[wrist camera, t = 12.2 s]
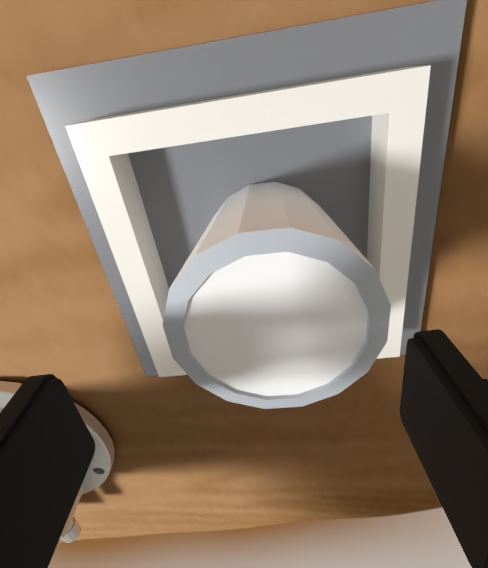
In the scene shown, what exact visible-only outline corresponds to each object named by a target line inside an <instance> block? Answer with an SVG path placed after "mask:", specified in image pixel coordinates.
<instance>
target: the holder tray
mask: <svg viewBox="0 0 488 568" xmlns="http://www.w3.org/2000/svg"><path fill="white" fill-rule="evenodd" d="M466 4H467V0H438V1H432V2H427V3H421V4H416V5H410V6H405V7H399V8H394V9H388V10H383V11H378V12H372V13H367V14H361V15H356V16H350V17H345V18H339V19H334V20H329V21H323V22H318V23H312V24H307V25H301V26H296V27H290V28H285V29H280V30H274V31H269V32H263V33H258V34H252V35H247V36H241V37H236V38H231V39H225V40H220V41H214V42H209V43H203V44H198V45H192V46H187V47H182V48H176V49H171V50H165V51H160V52H154V53H149V54H143V55H138V56H132V57H127V58H122V59H116V60H111V61H105V62H100V63H94V64H89V65H83V66H78V67H73V68H67V69H62V70H56V71H51V72H45V73H40V74H34V75H29V76H27V79H28V81H29V84H30V86H31V89H32V91H33V94H34V96H35V99H36V101H37V104H38V106H39V109H40V111H41V114H42V116H43V119H44V121H45V124H46V126H47V129H48V131H49V134H50V136H51V139H52V141H53V144H54V146H55V149H56V151H57V154H58V156H59V159H60V161H61V164H62V166H63V169H64V171H65V174H66V176H67V179H68V181H69V184H70V186H71V189H72V191H73V194H74V196H75V199H76V201H77V204H78V206H79V209H80V211H81V214H82V216H83V219H84V221H85V224H86V226H87V229H88V231H89V234H90V236H91V239H92V241H93V244H94V246H95V249H96V251H97V254H98V256H99V259H100V261H101V264H102V266H103V269H104V271H105V274H106V276H107V279H108V281H109V284H110V286H111V289H112V291H113V294H114V296H115V299H116V301H117V304H118V306H119V309H120V311H121V314H122V316H123V319H124V321H125V324H126V326H127V329H128V331H129V334H130V336H131V339H132V341H133V344H134V346H135V349H136V351H137V354H138V356H139V359H140V361H141V364H142V366H143V369H144V371H145V374H146V376H159V377H168V376H180V375H187V374H186V372H185V371H184V370H183V369H182V368H181V367H180V366H179V365H178V363H177V362H176V361H175V360H174V359H173V358H172V354H171V351H170V348H169V345H168V342H167V338H166V335H165V332H164V329H163V326H162V324H163V319H164V313H165V308H166V302H167V297H168V292H169V288H170V287H171V285H172V283H173V282H174V280H175V278H176V277H177V275H178V274H179V272H180V270H181V269H182V267H183V265H184V264H185V262H186V261H187V259H188V257H189V256H190V254H191V253H192V251H193V249H194V248H195V246H196V244H197V243H198V241H199V240H200V238H201V236H202V235H203V233H204V231H205V230H206V228H207V227H208V225H209V223H210V222H211V220H212V218H213V217H214V215H215V214H216V213H217V211H218V210H219V209H220V207H221V206H222V205H223V203H224V202H225V201H226V199H227V198H228V197H229V196H231V195H233V194H234V193H236V192H238V191H240V190H241V189H243V188H245V187H247V186H248V185H251V184H259V183H267V182H279V183H282V184H286V185H289V186H293V187H296V188H300V189H301V190H302V191H303V192H304V193H306V194H307V195H308V196H309V197H310V198H312V199H313V200H314V201H315V202H316V203H318V204H319V206H320V207H321V208H322V209H323V210H324V211H325V212H326V214H327V215H328V216H329V217H330V218H331V219H332V220H333V222H334V223H335V224H336V225H337V226H338V227H339V228H340V230H341V231H342V232H343V233H344V234H345V235H346V236H347V238H348V239H349V240H350V241H351V242H352V243H353V244H354V246H355V247H356V248H357V249H358V250H359V251H360V252H361V254H362V255H363V256H364V257H365V258H366V259H367V260H368V262H369V263H370V264H371V265H372V266H373V267H374V268H375V270H376V272H377V275H378V277H379V279H380V281H381V284H382V286H383V288H384V291H385V293H386V295H387V297H388V300H389V302H390V304H391V310H390V319H389V329H388V339H387V343H386V344H385V346H384V347H383V349H382V351H381V352H380V354H379V355H378V357H377V358H376V359H379V358H391V357H400V355H402V354H406V346H407V340H408V339H410V338H413V336H414V334H415V332H420V331H421V324H422V317H423V309H424V302H425V295H426V288H427V281H428V274H429V267H430V260H431V253H432V246H433V238H434V231H435V224H436V217H437V210H438V203H439V196H440V189H441V182H442V175H443V167H444V160H445V153H446V146H447V139H448V132H449V125H450V118H451V111H452V104H453V96H454V89H455V82H456V75H457V68H458V61H459V54H460V47H461V40H462V32H463V25H464V18H465V11H466Z"/></svg>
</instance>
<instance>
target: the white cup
mask: <svg viewBox="0 0 488 568" xmlns="http://www.w3.org/2000/svg"><path fill="white" fill-rule="evenodd" d="M390 310H391V304H390V302H389V300H388V297H387V295H386V293H385V291H384V288H383V286H382V284H381V281H380V279H379V277H378V275H377V272H376V270H375V268H374V267H373V266H372V265H371V264H370V263H369V262H368V260H367V259H366V258H365V257H364V256H363V255H362V254H361V252H360V251H359V250H358V249H357V248H356V247H355V246H354V244H353V243H352V242H351V241H350V240H349V239H348V238H347V236H346V235H345V234H344V233H343V232H342V231H341V230H340V228H339V227H338V226H337V225H336V224H335V223H334V222H333V220H332V219H331V218H330V217H329V216H328V215H327V214H326V212H325V211H324V210H323V209H322V208H321V207H320V206H319V204H318V203H316V202H315V201H314V200H313V199H312V198H310V197H309V196H308V195H307V194H306V193H304V192H303V191H302V190H301V189H300V188H296V187H293V186H289V185H286V184H282V183H279V182H267V183H259V184H251V185H248V186H247V187H245V188H243V189H241V190H240V191H238V192H236V193H234V194H233V195H231V196H229V197H228V198H227V199H226V201H225V202H224V203H223V205H222V206H221V207H220V209H219V210H218V211H217V213H216V214H215V215H214V217H213V218H212V220H211V222H210V223H209V225H208V227H207V228H206V230H205V231H204V233H203V235H202V236H201V238H200V240H199V241H198V243H197V244H196V246H195V248H194V249H193V251H192V253H191V254H190V256H189V257H188V259H187V261H186V262H185V264H184V265H183V267H182V269H181V270H180V272H179V274H178V275H177V277H176V278H175V280H174V282H173V283H172V285H171V287H170V288H169V292H168V297H167V302H166V308H165V313H164V319H163V324H162V326H163V329H164V332H165V335H166V338H167V342H168V345H169V348H170V351H171V354H172V358H173V359H174V360H175V361H176V362H177V363H178V365H179V366H180V367H181V368H182V369H183V370H184V371H185V372H186V374H187V375H188V376H189V377H190V378H191V379H192V380H193V381H194V383H195V384H197V385H199V386H200V387H202V388H204V389H206V390H208V391H210V392H211V393H213V394H215V395H217V396H219V397H221V398H222V399H224V400H226V401H229V402H233V403H238V404H243V405H248V406H253V407H257V408H262V409H271V408H287V407H302V406H305V405H308V404H311V403H314V402H317V401H320V400H323V399H326V398H328V397H331V396H334V395H337V394H339V393H340V392H342V391H343V390H344V389H346V388H347V387H348V386H350V385H351V384H352V383H354V382H355V381H357V380H358V379H359V378H361V377H362V376H363V375H365V374H366V373H367V372H368V371H369V370H370V368H371V366H372V365H373V363H374V362H375V360H376V358H377V357H378V355H379V354H380V352H381V351H382V349H383V347H384V346H385V344H386V343H387V339H388V329H389V319H390Z"/></svg>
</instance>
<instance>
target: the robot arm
mask: <svg viewBox="0 0 488 568" xmlns="http://www.w3.org/2000/svg"><path fill="white" fill-rule="evenodd" d="M400 416H401V420H402V423H403V425H404V427H405V429H406V432H407V434H408V436H409V438H410V440H411V442H412V444H413V446H414V448H415V450H416V452H417V454H418V457H419V459H420V461H421V463H422V465H423V467H424V469H425V471H426V473H427V475H428V477H429V480H430V482H431V484H432V486H433V488H434V490H435V492H436V494H437V496H438V498H439V500H440V502H441V505H442V507H443V509H444V511H445V513H446V515H447V517H448V519H449V521H450V523H451V525H452V528H453V530H454V532H455V534H456V536H457V538H458V540H459V542H460V544H461V546H462V548H463V551H464V553H465V555H466V557H467V559H468V561H469V563H470V565H471V566H472V568H488V380H487V379H482V378H481V377H480V376H479V374H478V373H477V372H476V371H475V370H474V368H473V367H472V366H471V365H470V364H469V362H468V361H467V360H466V359H465V357H464V356H463V355H462V354H461V353H460V351H459V350H458V349H457V348H456V347H455V345H454V344H453V343H452V342H451V341H450V339H449V338H448V337H447V336H446V335H445V333H444V332H443V331H441V330H439V329H438V330H429V331H420V332H415V334H414V336H413V338H410V339H408V340H407V346H406V356H405V366H404V376H403V385H402V395H401V405H400ZM114 455H115V450H114V445H113V441H112V439H111V437H110V436H109V434H108V432H107V430H106V429H105V428H104V427H103V425H102V424H101V423H100V422H99V421H98V419H96V418H95V417H94V416H93V415H92V414H91V413H89V412H88V411H87V410H86V409H84V408H83V407H81V406H80V405H78V404H76V403H75V402H73V400H72V399H71V397H70V395H69V393H68V391H67V389H66V388H65V386H64V384H63V382H62V381H61V380H60V379H57V378H56V377H55V376H54V375H52V374H47V375H38V376H30V377H28V378H27V379H26V380H25V381H24V382H23V383H18V382H7V381H0V568H47V567H48V565H49V563H50V560H51V558H52V555H53V553H54V551H55V548H56V547H57V545H58V544H59V542H60V540H61V539H63V540H64V542H67V543H70V542H73V541H74V540H75V539H76V538H77V537H78V536H79V534H80V532H81V527H80V525H79V523H78V522H77V521H76V519H75V518H74V517H73V515H74V512H75V510H76V507H77V505H78V503H79V500H80V498H81V495H83V494H86V493H88V492H90V491H92V490H94V489H96V488H97V487H99V486H100V485H101V484H102V483H103V482H104V481H105V480H106V478H107V477H108V475H109V473H110V470H111V467H112V465H113V462H114Z"/></svg>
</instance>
